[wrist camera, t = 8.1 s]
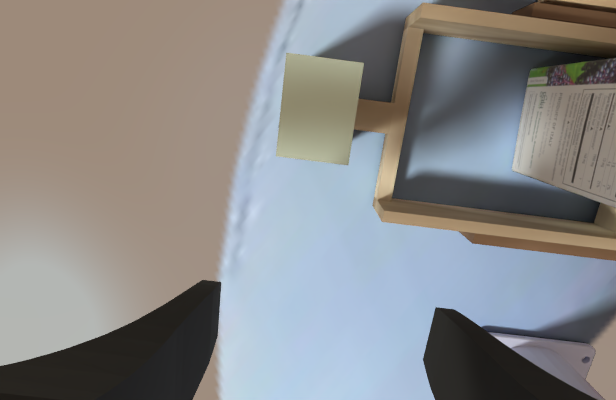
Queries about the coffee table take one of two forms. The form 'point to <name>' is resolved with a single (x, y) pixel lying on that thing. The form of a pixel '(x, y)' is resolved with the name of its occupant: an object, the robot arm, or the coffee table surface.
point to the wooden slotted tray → (392, 116)
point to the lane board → (572, 17)
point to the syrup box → (571, 129)
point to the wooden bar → (585, 4)
